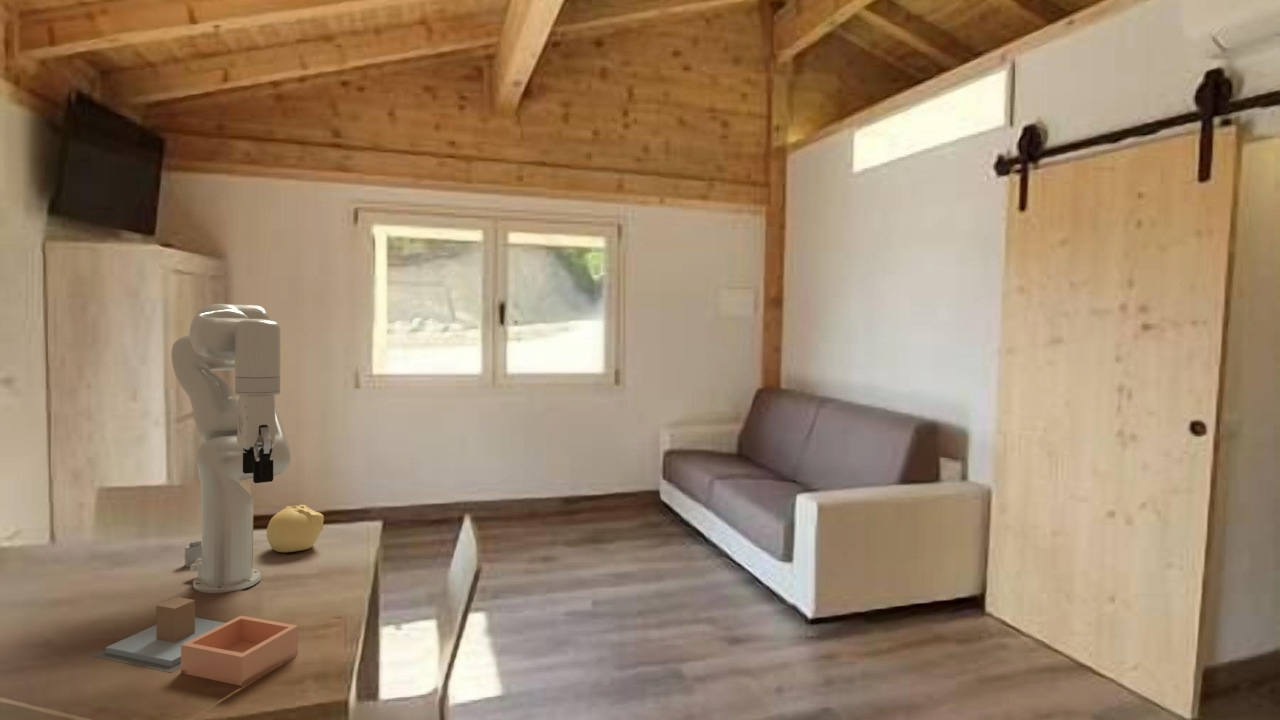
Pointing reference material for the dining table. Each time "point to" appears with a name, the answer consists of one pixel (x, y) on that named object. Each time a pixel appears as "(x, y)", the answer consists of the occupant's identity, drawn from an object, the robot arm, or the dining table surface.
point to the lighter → (193, 552)
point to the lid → (165, 634)
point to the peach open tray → (240, 650)
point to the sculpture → (294, 529)
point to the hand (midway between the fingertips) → (257, 477)
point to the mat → (136, 662)
